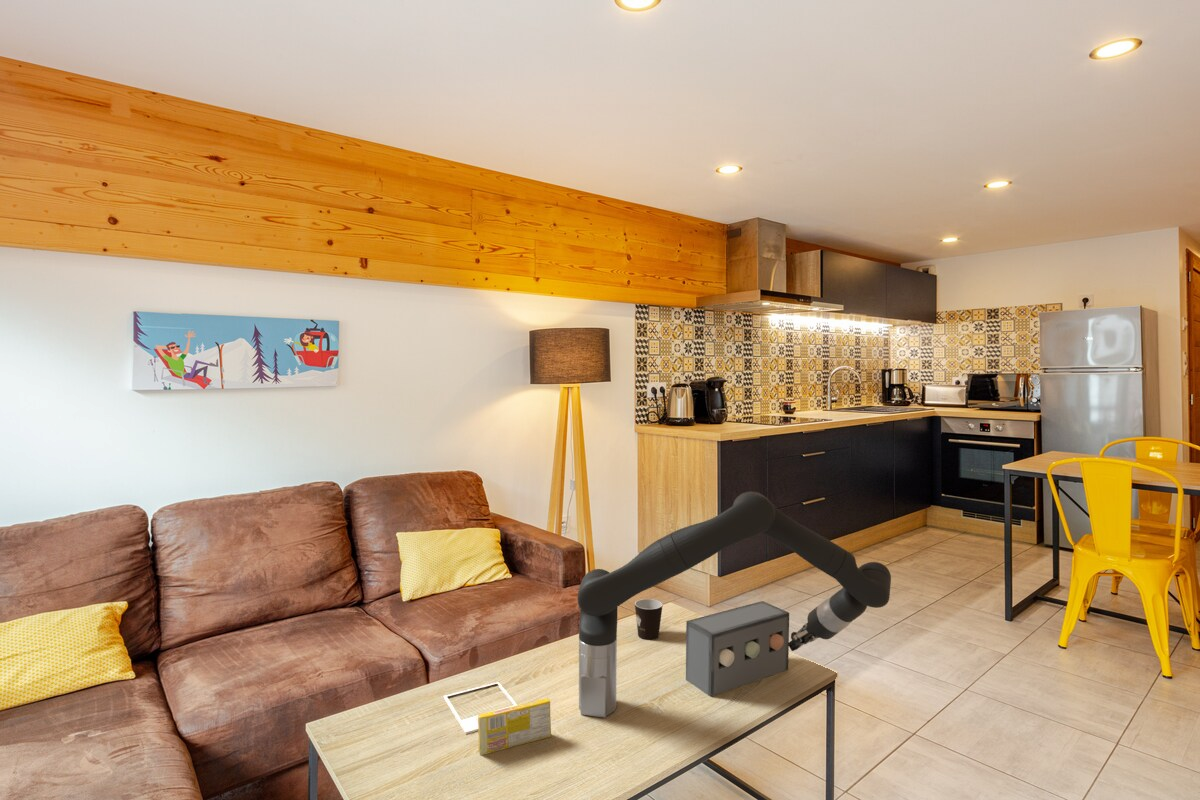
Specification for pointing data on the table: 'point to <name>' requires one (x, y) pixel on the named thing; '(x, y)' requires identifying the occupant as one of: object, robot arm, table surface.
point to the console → (735, 647)
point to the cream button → (726, 657)
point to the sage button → (752, 649)
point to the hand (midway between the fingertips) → (791, 647)
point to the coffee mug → (648, 618)
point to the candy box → (514, 726)
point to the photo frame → (472, 722)
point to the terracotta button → (776, 641)
